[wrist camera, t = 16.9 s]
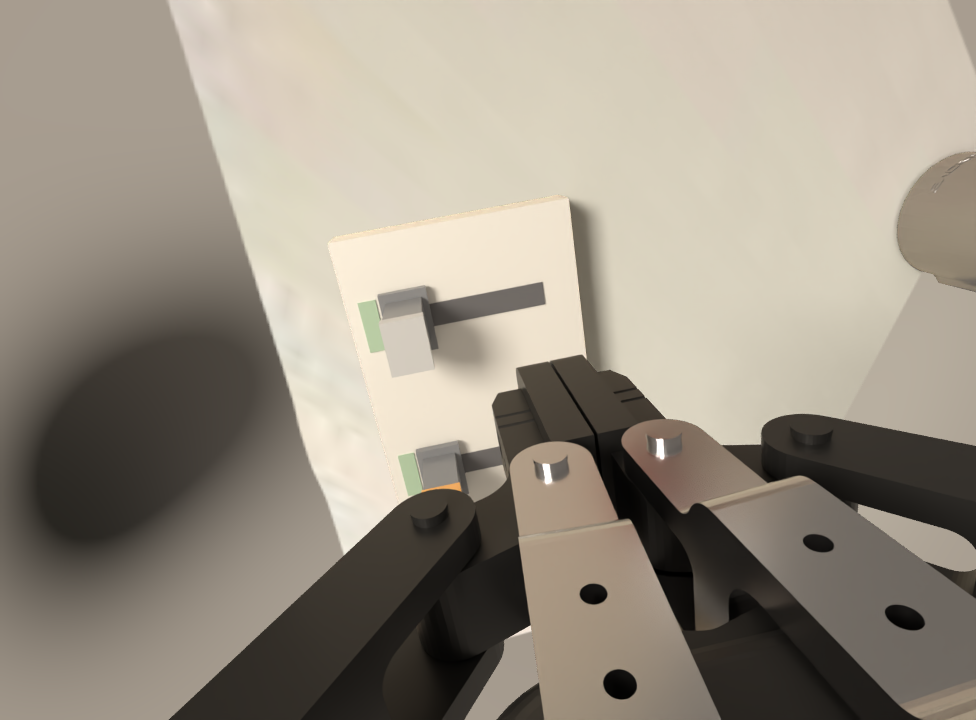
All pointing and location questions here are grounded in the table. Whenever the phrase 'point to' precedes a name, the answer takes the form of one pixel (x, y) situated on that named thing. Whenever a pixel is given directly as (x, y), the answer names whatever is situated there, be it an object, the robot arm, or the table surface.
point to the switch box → (462, 324)
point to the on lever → (407, 330)
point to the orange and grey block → (442, 467)
